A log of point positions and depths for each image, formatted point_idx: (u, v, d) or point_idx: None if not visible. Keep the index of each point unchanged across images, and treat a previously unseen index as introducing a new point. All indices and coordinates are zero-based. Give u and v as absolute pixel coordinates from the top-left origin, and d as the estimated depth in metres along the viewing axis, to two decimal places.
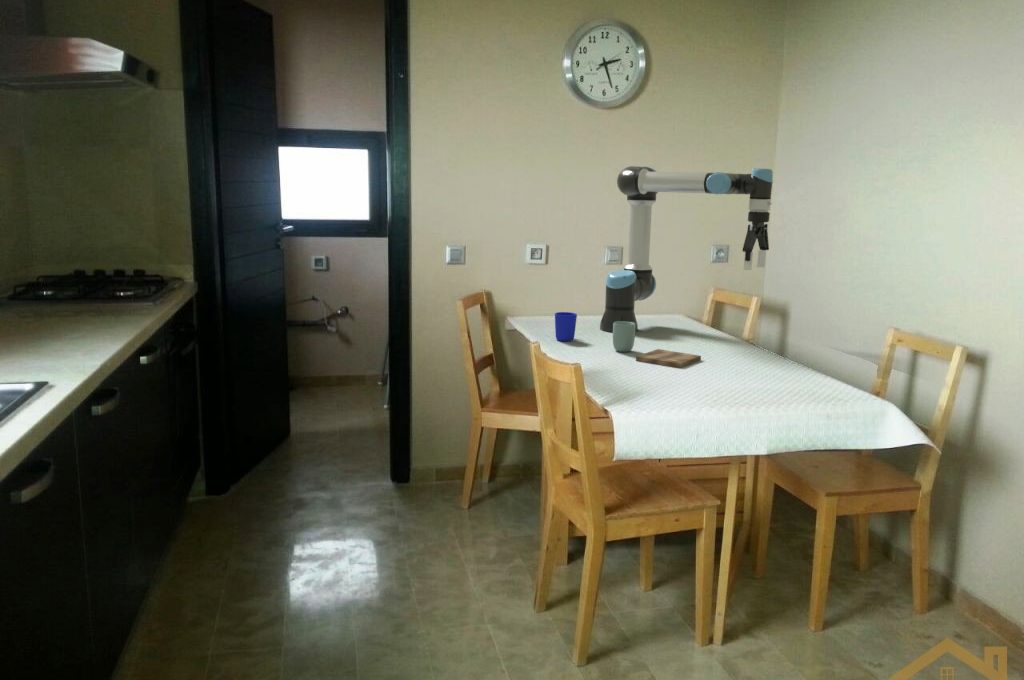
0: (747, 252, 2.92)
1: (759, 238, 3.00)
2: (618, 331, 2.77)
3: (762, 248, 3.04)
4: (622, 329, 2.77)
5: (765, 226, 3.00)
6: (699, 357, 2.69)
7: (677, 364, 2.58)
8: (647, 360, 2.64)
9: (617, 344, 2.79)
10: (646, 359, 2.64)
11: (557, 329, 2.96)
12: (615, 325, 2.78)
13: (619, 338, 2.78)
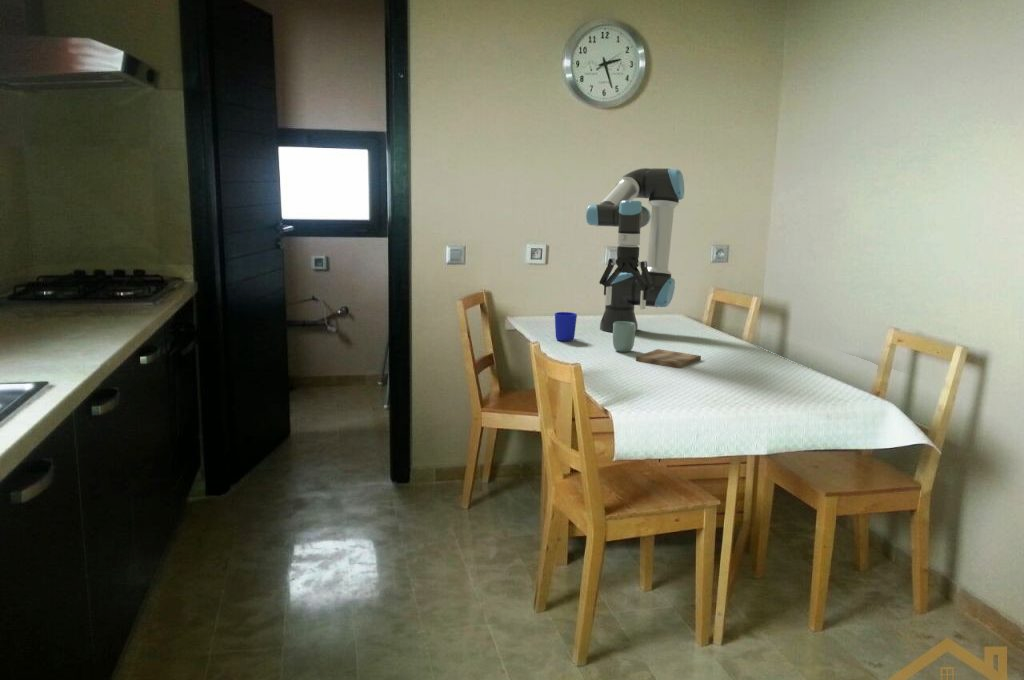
0: None
1: None
2: (618, 331, 2.77)
3: None
4: (622, 329, 2.77)
5: None
6: (699, 357, 2.69)
7: (677, 364, 2.58)
8: (647, 360, 2.64)
9: (617, 344, 2.79)
10: (646, 359, 2.64)
11: (557, 329, 2.96)
12: (615, 325, 2.78)
13: (619, 338, 2.78)
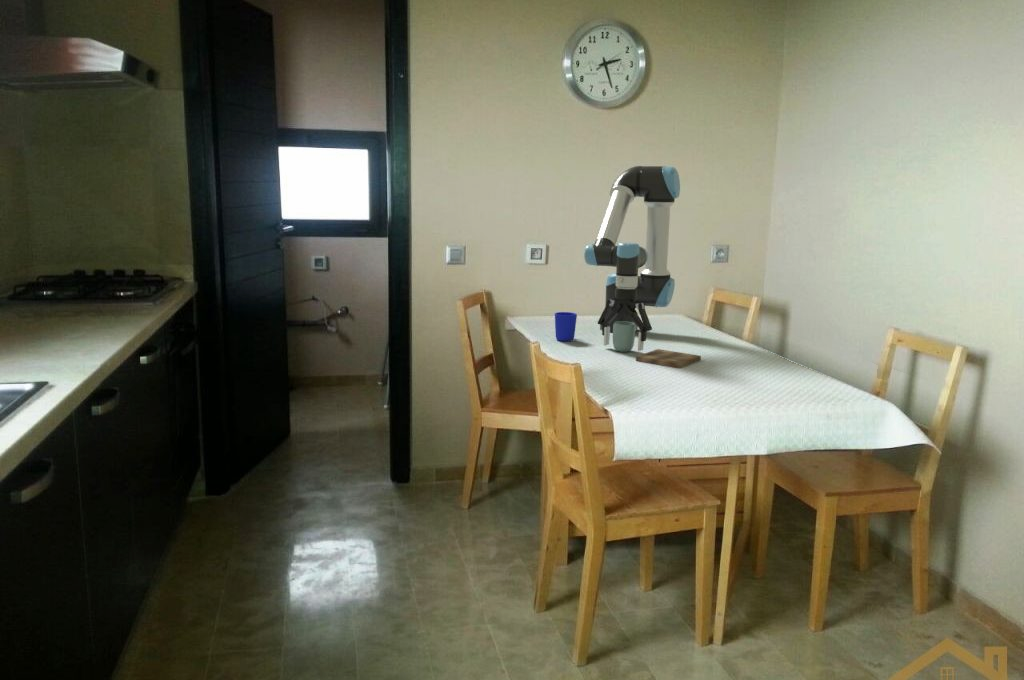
0: None
1: None
2: (618, 331, 2.77)
3: None
4: (622, 329, 2.77)
5: None
6: (699, 357, 2.69)
7: (677, 364, 2.58)
8: (647, 360, 2.64)
9: (617, 344, 2.79)
10: (646, 359, 2.64)
11: (557, 329, 2.96)
12: (615, 325, 2.78)
13: (619, 338, 2.78)
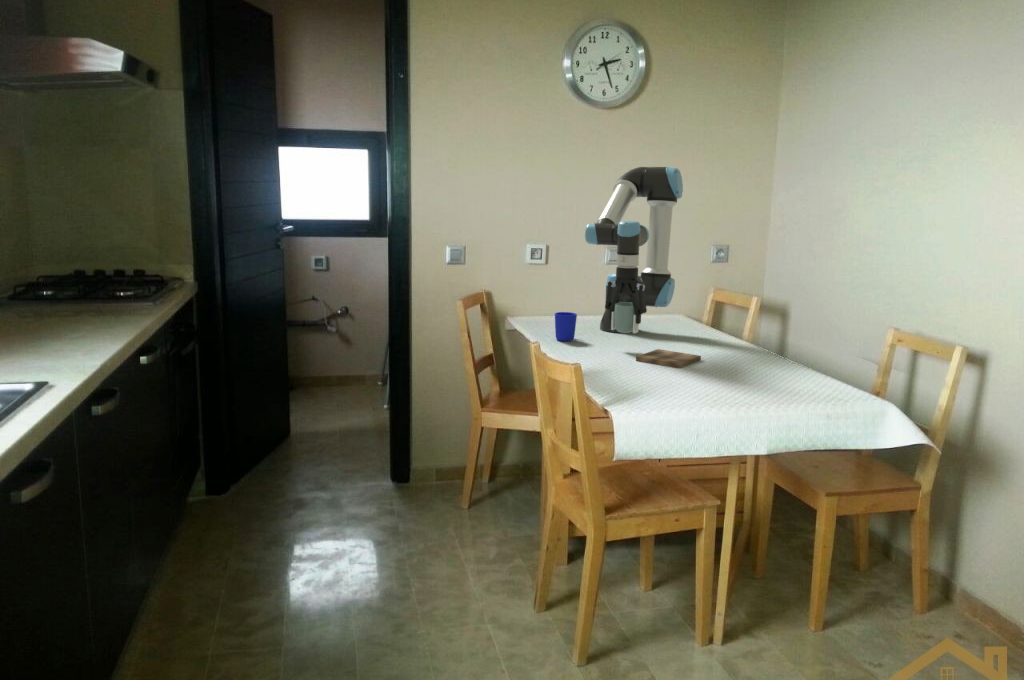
0: None
1: None
2: (619, 312, 2.77)
3: None
4: (624, 310, 2.76)
5: None
6: (699, 357, 2.69)
7: (677, 364, 2.58)
8: (647, 360, 2.64)
9: (618, 325, 2.78)
10: (646, 359, 2.64)
11: (557, 329, 2.96)
12: (616, 306, 2.77)
13: (620, 319, 2.77)
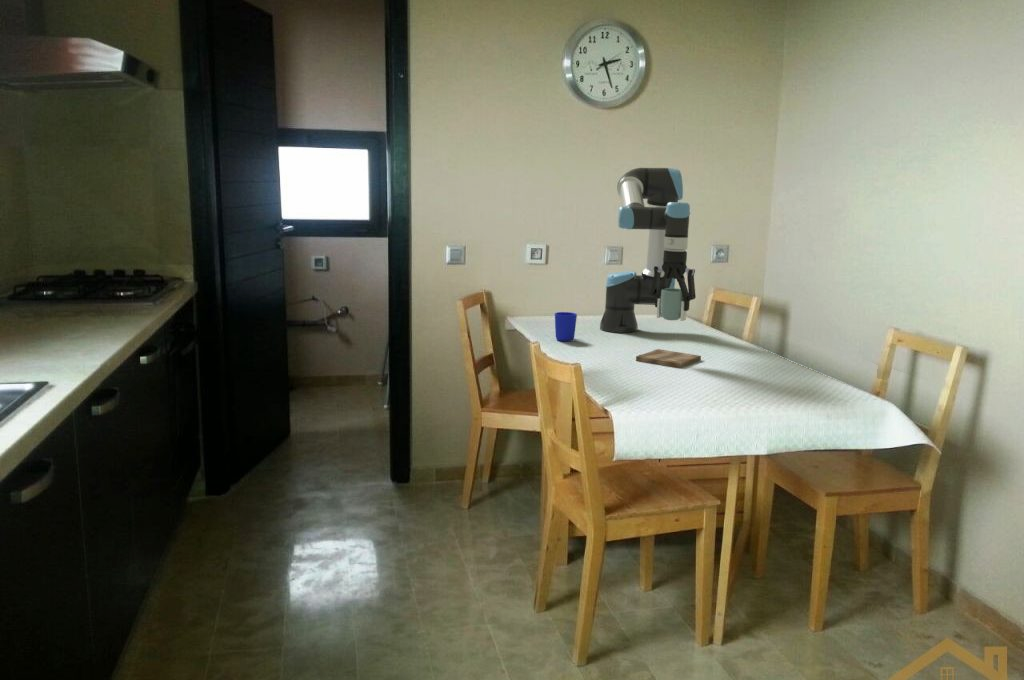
0: None
1: None
2: (666, 298, 2.61)
3: None
4: (672, 296, 2.61)
5: None
6: (699, 357, 2.69)
7: (677, 364, 2.58)
8: (647, 360, 2.64)
9: (665, 312, 2.63)
10: (646, 359, 2.64)
11: (557, 329, 2.96)
12: (663, 292, 2.62)
13: (668, 306, 2.62)
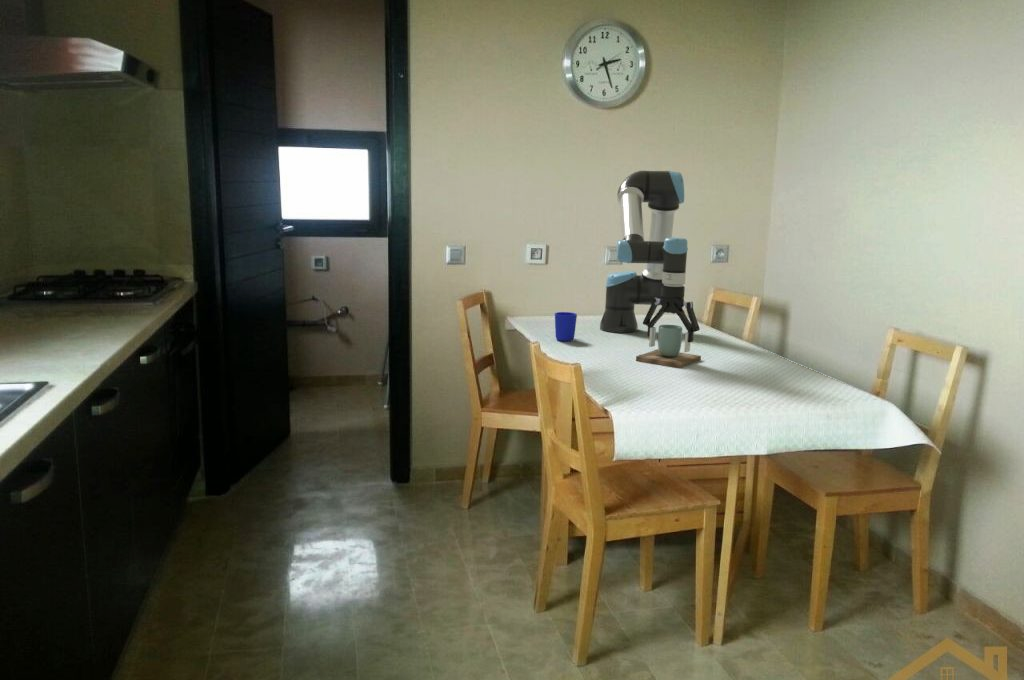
0: None
1: None
2: (664, 335, 2.64)
3: None
4: (669, 333, 2.63)
5: None
6: (699, 357, 2.69)
7: (677, 364, 2.58)
8: (647, 360, 2.64)
9: (663, 349, 2.65)
10: (646, 359, 2.64)
11: (557, 329, 2.96)
12: (661, 329, 2.65)
13: (665, 343, 2.64)
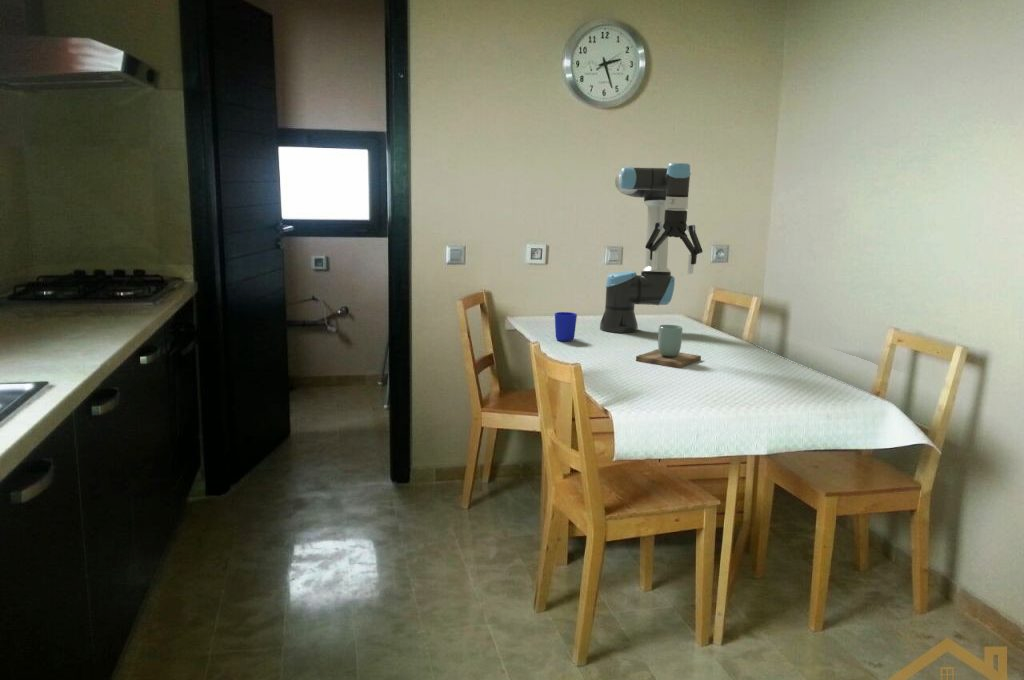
0: None
1: None
2: (664, 335, 2.64)
3: None
4: (669, 333, 2.63)
5: None
6: (699, 357, 2.69)
7: (677, 364, 2.58)
8: (647, 360, 2.64)
9: (663, 349, 2.65)
10: (646, 359, 2.64)
11: (557, 329, 2.96)
12: (661, 329, 2.65)
13: (665, 343, 2.64)
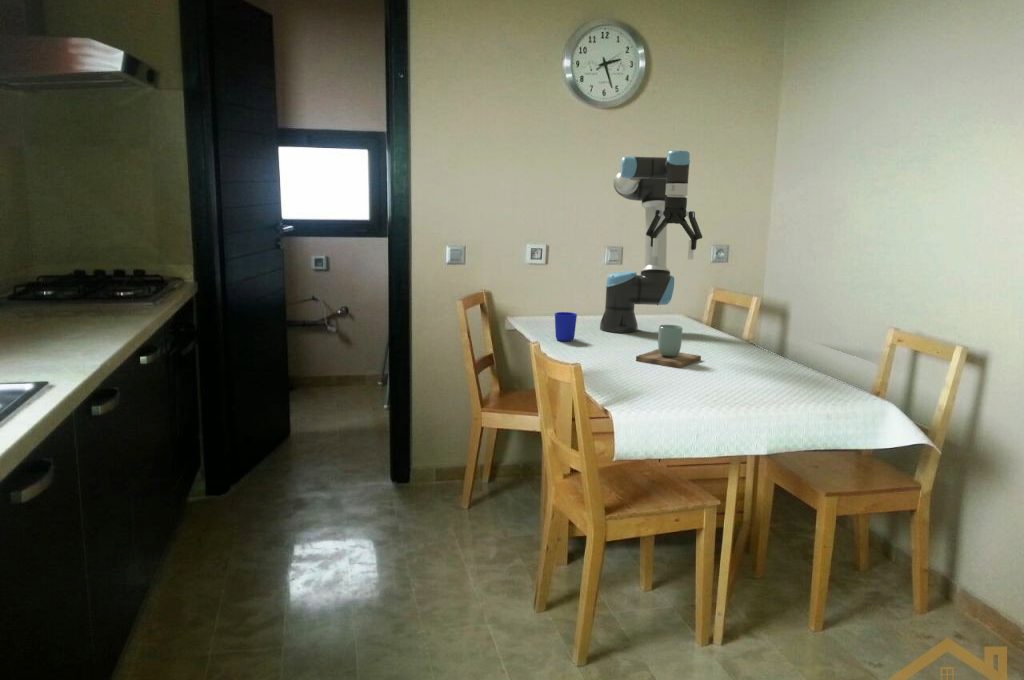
0: None
1: None
2: (664, 335, 2.64)
3: None
4: (669, 333, 2.63)
5: None
6: (699, 357, 2.69)
7: (677, 364, 2.58)
8: (647, 360, 2.64)
9: (663, 349, 2.65)
10: (646, 359, 2.64)
11: (557, 329, 2.96)
12: (661, 329, 2.65)
13: (665, 343, 2.64)
